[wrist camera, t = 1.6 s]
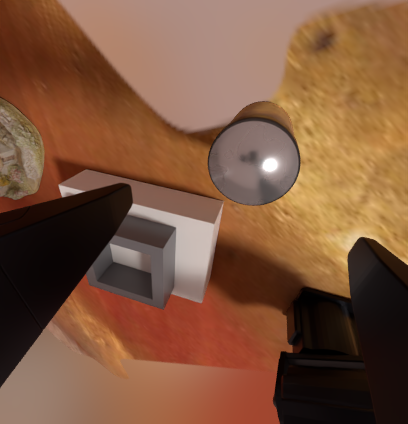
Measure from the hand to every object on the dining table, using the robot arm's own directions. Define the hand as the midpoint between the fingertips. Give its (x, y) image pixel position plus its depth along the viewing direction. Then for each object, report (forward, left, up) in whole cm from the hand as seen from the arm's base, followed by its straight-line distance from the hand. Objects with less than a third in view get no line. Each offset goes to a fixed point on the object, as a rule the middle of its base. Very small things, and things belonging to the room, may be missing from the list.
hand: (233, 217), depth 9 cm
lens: (0, 0, -12) cm, 12 cm away
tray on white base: (+10, +13, -12) cm, 20 cm away
